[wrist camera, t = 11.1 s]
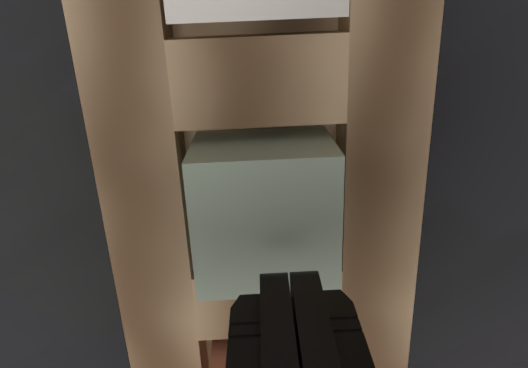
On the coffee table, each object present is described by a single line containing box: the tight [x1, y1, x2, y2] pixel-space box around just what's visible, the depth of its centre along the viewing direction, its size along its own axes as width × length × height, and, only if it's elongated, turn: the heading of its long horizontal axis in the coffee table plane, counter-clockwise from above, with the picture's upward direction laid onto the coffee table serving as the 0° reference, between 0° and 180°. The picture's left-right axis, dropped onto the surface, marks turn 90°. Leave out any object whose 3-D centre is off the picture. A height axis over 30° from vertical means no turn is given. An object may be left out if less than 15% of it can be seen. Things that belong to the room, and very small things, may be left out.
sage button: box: [182, 126, 345, 301], centre depth 16 cm, size 5×5×4 cm
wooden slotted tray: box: [62, 0, 444, 368], centre depth 18 cm, size 12×28×2 cm, turn 2°
